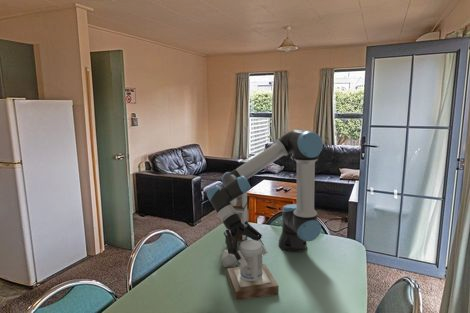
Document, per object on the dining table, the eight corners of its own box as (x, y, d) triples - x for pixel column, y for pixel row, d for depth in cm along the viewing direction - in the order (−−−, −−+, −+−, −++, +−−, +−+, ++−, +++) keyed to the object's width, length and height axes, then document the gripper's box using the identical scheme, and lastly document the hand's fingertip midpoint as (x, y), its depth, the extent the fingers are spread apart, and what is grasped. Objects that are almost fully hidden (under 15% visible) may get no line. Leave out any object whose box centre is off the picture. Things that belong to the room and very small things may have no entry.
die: (232, 273, 145) (242, 255, 147) (216, 263, 146) (227, 245, 148) (232, 270, 153) (242, 253, 155) (217, 261, 154) (227, 244, 156)
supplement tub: (255, 268, 141) (255, 237, 138) (266, 278, 132) (266, 246, 130) (236, 273, 136) (235, 242, 134) (246, 284, 128) (246, 251, 125)
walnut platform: (265, 271, 146) (265, 263, 145) (278, 294, 128) (278, 285, 128) (227, 276, 142) (227, 267, 141) (235, 300, 125) (235, 291, 124)
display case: (229, 233, 188) (229, 177, 182) (247, 235, 186) (247, 178, 179) (225, 241, 177) (224, 182, 171) (244, 243, 175) (243, 183, 168)
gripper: (243, 214, 150) (268, 252, 143) (204, 229, 132) (231, 275, 125) (252, 206, 146) (278, 245, 138) (213, 221, 127) (240, 267, 120)
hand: (255, 259), depth 131 cm, fingers open, 13 cm apart
